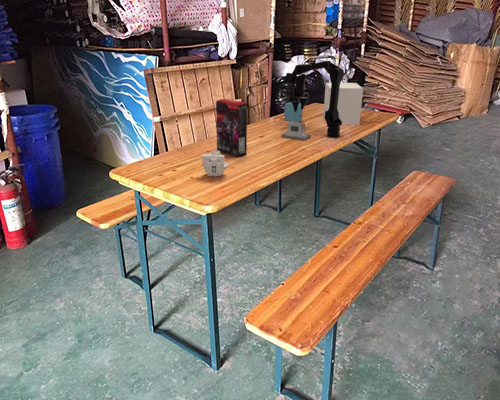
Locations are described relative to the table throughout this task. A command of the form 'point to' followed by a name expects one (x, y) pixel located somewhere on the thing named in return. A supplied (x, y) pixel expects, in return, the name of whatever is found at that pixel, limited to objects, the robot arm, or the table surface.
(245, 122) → the graphics card box
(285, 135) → the pin tray
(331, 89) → the robot arm
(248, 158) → the table surface
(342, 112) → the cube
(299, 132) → the block
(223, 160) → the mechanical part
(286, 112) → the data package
